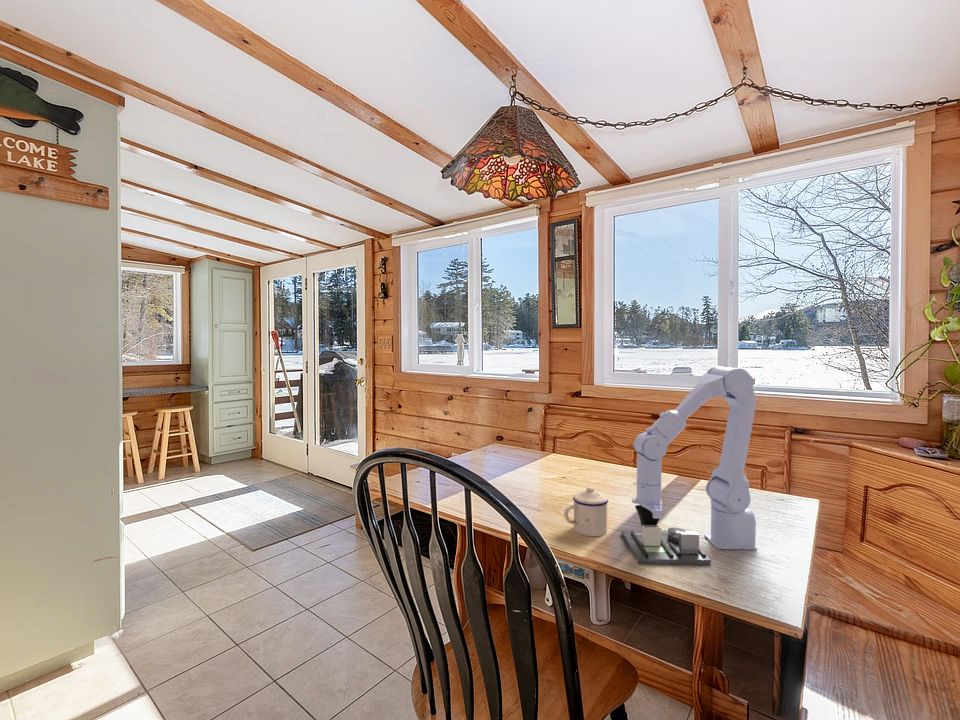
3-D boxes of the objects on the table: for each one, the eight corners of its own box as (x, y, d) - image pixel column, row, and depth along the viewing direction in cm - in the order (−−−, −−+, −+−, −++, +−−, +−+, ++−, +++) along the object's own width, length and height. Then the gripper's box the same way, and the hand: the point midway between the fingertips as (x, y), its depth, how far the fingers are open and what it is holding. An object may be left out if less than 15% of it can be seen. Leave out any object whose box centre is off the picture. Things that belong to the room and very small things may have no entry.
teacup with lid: (596, 522, 132) (597, 481, 132) (614, 535, 123) (614, 491, 123) (557, 526, 129) (557, 484, 128) (572, 540, 120) (572, 495, 120)
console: (683, 535, 123) (684, 513, 123) (710, 565, 107) (710, 539, 107) (621, 534, 124) (621, 512, 123) (638, 564, 108) (638, 538, 108)
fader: (658, 543, 115) (658, 524, 115) (660, 546, 114) (660, 527, 114) (642, 543, 115) (642, 524, 115) (643, 545, 114) (644, 527, 114)
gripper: (625, 473, 124) (624, 524, 124) (640, 491, 109) (640, 549, 110) (652, 473, 123) (651, 524, 124) (671, 492, 109) (671, 549, 110)
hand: (648, 536), depth 117 cm, fingers closed
